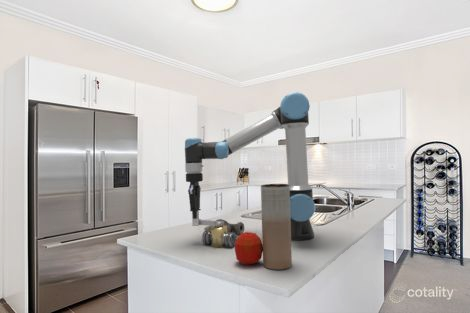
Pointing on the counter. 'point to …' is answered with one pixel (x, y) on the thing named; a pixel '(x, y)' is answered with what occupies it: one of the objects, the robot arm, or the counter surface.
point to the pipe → (230, 227)
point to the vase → (276, 226)
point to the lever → (211, 223)
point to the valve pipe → (219, 237)
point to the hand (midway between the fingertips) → (195, 225)
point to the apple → (248, 248)
